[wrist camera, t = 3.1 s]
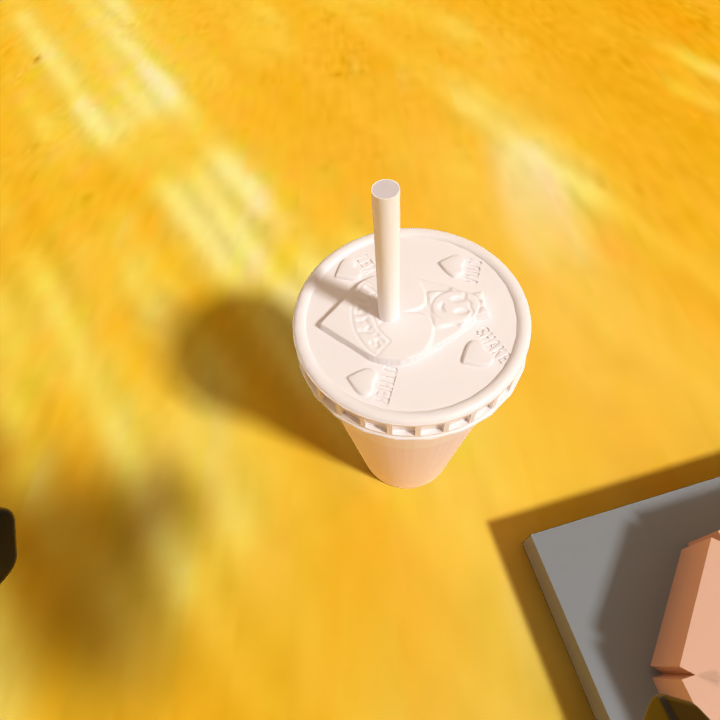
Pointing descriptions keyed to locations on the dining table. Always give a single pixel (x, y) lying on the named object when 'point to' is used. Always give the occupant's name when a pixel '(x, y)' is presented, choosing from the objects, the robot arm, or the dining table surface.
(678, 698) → the robot arm
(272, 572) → the dining table surface
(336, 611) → the dining table surface
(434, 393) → the smoothie
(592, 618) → the board
